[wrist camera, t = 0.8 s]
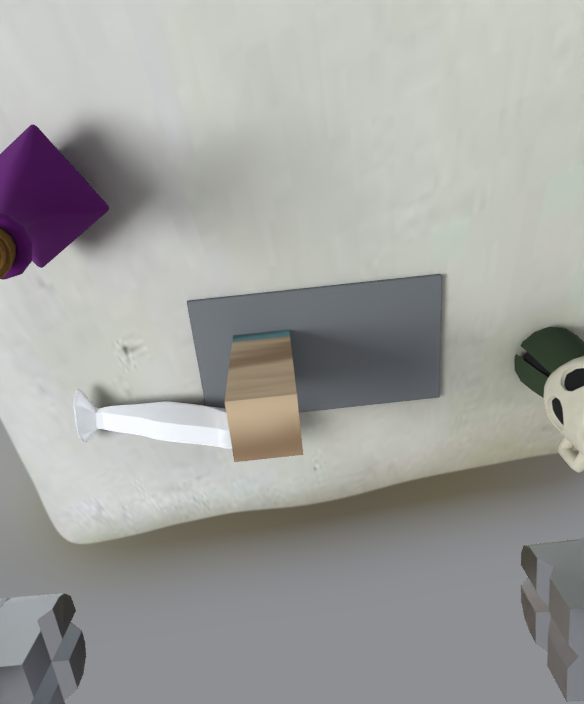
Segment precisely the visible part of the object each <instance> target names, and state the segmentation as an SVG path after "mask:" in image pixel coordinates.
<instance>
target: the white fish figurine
mask: <svg viewBox="0 0 584 704" xmlns="http://www.w3.org/2000/svg"><path fill="white" fill-rule="evenodd" d="M73 407H74V415H75V422H76V430H77V433H78V435H79V437H80V438H81V440H82V441H83V442H87V441H88V440H89V438H90V437H91V436H92V435H93V434H94V433H95V432H96V430H97V429H105V430H110V431H114V432H121V433H128V434H136V435H142V436H146V437H150V438H154V439H157V440H164V441H172V442H180V443H191V444H200V445H208V446H217V447H221V448H227V449H232V444H231V438H230V432H229V426H228V420H227V414H226V409H224V408H218V407H211V406H204V405H197V404H188V403H179V402H169V401H164V402H154V403H144V404H131V405H117V406H108V407H103V408H97V407H96V406H95V405H94V404H93V403H92V402H91V401H90V400H89V398H88V397H87V396H86V395H85V394H84V393H83V392H82V391H81V390H76V393H75V396H74V400H73Z"/></svg>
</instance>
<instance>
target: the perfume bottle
mask: <svg viewBox="0 0 584 704" xmlns="http://www.w3.org/2000/svg"><path fill="white" fill-rule="evenodd" d="M108 210H109V207H108V205H107V204H106V202H105V201H104V200H103V199H102V198H101V197H100V196H99V195H98V194H97V193H96V191H95V190H94V189H93V188H92V187H91V186H90V185H89V184H88V183H87V181H86V180H85V179H84V178H83V177H82V176H81V175H80V174H79V173H78V171H77V170H76V169H75V168H74V167H73V166H72V165H71V164H70V163H69V162H68V160H67V159H66V158H65V157H64V156H63V155H62V154H61V153H60V152H59V150H58V149H57V148H56V147H55V146H54V145H53V144H52V143H51V142H50V140H49V139H48V138H47V137H46V136H45V135H44V134H43V133H42V132H41V131H40V129H39V128H38V127H37V126H35V125H30V126H29V127H28V128H27V129H26V130H25V131H24V132H23V133H22V134H21V135H20V136H19V137H18V138H17V139H16V140H15V141H14V142H13V143H12V144H10V145H9V146H8V147H7V148H6V149H5V150H4V151H3V152H2V153H1V154H0V279H3V280H4V279H7V278H11V277H14V276H17V275H20V274H22V273H23V272H24V270H25V269H26V268H27V267H28V265H29V264H30V263H31V261H33V262H34V263H35V264H36V265H37V266H38V267H41V268H42V267H44V266H45V265H46V264H47V263H49V262H50V261H51V260H52V259H53V258H54V257H55V256H57V255H58V254H59V253H60V252H61V251H62V250H63V249H65V248H66V247H67V246H68V245H69V244H70V243H72V242H73V241H74V240H75V239H76V238H77V237H78V236H80V235H81V234H82V233H83V232H84V231H85V230H86V229H88V228H89V227H90V226H91V225H92V224H93V223H94V222H96V221H97V220H98V219H99V218H100V217H101V216H103V215H104V214H105V213H106V212H107V211H108Z"/></svg>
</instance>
